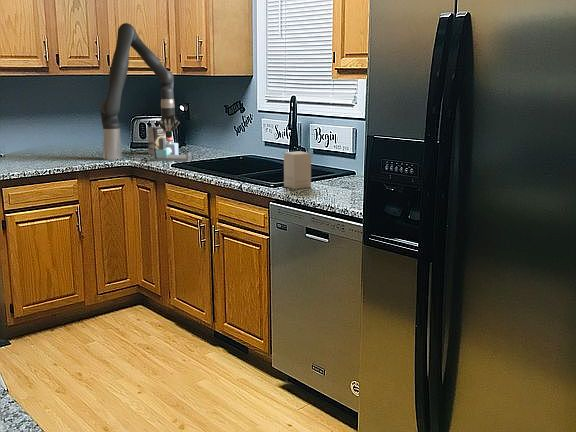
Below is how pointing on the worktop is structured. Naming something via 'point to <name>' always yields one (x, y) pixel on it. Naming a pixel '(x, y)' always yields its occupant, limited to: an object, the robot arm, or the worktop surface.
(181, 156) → the rail
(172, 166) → the worktop surface
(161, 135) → the coffee box
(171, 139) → the plunger
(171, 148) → the gauge box
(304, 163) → the supplement box
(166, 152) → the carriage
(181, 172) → the worktop surface
